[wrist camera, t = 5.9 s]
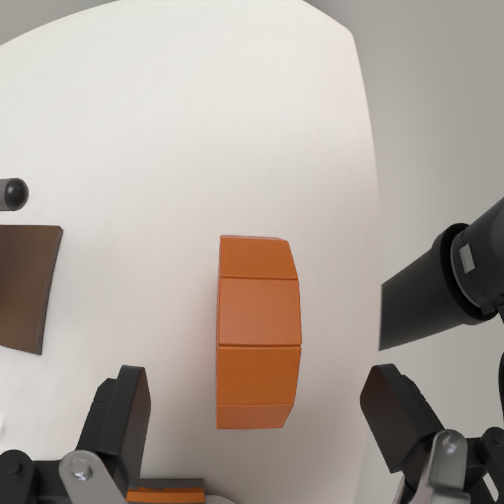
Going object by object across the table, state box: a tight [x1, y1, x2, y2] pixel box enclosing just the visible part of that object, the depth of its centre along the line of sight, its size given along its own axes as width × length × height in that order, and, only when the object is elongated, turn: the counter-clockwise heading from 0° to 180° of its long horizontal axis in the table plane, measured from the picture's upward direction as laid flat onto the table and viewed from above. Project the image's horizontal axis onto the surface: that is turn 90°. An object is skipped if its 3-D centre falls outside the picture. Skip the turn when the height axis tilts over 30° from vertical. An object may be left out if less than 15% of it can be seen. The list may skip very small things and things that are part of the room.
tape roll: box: [216, 235, 302, 429], centre depth 15 cm, size 3×10×10 cm, turn 0°
